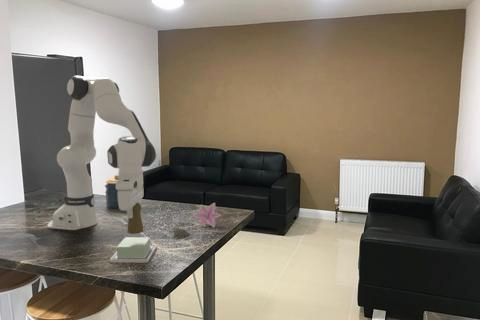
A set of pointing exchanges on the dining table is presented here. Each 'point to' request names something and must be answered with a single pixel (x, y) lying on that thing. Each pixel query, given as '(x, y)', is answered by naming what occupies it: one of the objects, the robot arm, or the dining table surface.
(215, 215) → the lily
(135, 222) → the cork
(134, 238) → the butter dish
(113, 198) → the canister
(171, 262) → the dining table surface
